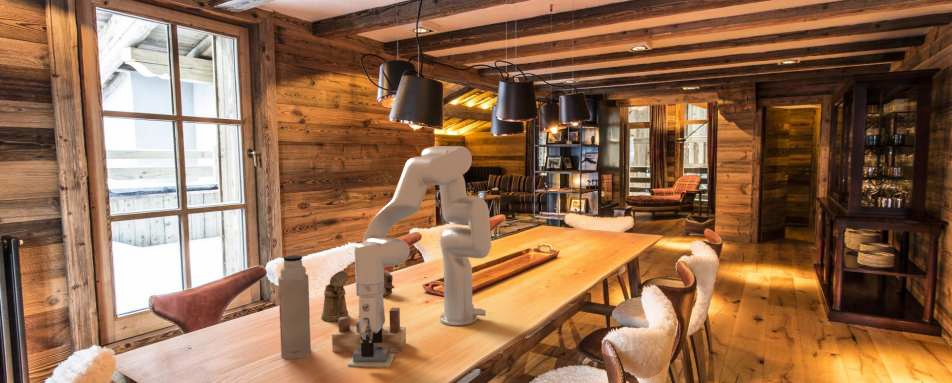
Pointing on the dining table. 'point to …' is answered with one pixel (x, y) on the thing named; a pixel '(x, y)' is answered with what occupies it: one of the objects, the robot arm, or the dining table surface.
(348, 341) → the body
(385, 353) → the lever cap
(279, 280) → the thermos bottle
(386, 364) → the felt mat
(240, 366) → the dining table surface
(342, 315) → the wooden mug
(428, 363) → the dining table surface
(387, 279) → the wooden carving
